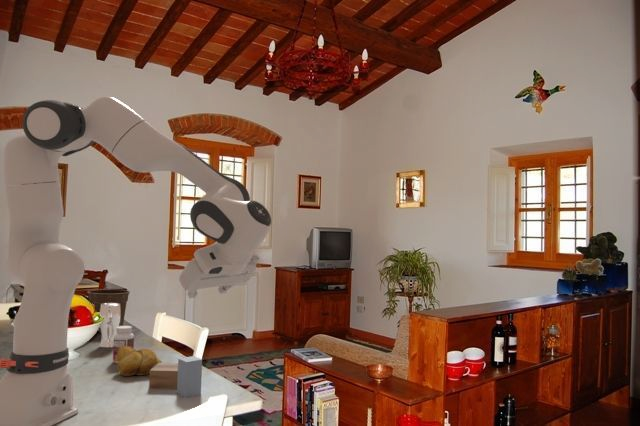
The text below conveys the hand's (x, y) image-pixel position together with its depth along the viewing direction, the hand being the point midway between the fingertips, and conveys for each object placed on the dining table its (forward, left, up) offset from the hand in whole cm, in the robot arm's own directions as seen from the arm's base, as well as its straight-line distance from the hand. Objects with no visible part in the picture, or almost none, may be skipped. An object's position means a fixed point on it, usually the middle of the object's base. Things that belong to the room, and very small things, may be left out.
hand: (206, 293), depth 134 cm
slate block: (+3, +5, -27) cm, 27 cm away
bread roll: (+19, +24, -27) cm, 41 cm away
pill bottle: (+31, +35, -27) cm, 54 cm away
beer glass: (+51, +49, -27) cm, 75 cm away
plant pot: (+77, +62, -27) cm, 103 cm away
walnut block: (+10, +13, -27) cm, 31 cm away
